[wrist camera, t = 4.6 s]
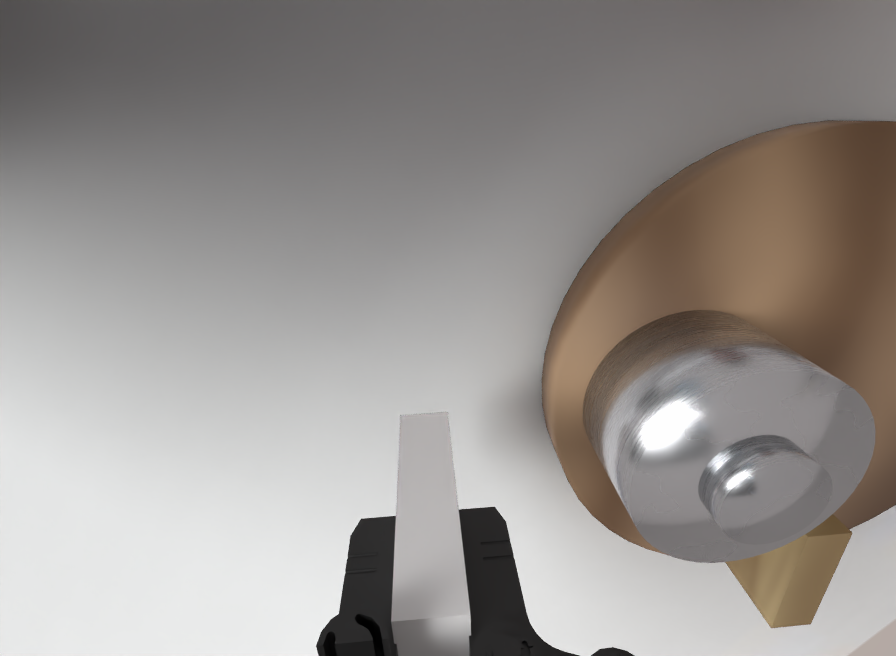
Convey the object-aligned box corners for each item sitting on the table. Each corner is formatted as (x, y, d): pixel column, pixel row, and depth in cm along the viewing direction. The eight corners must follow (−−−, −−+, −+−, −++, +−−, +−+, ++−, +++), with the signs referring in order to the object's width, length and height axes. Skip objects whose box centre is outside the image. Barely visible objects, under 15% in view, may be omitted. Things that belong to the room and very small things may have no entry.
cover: (575, 480, 18) (629, 602, 14) (591, 317, 15) (667, 404, 11) (748, 465, 18) (857, 581, 14) (797, 303, 15) (957, 381, 11)
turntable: (533, 540, 22) (564, 648, 18) (553, 134, 14) (616, 143, 10) (891, 508, 23) (1008, 604, 18) (1089, 107, 15) (1372, 103, 11)
